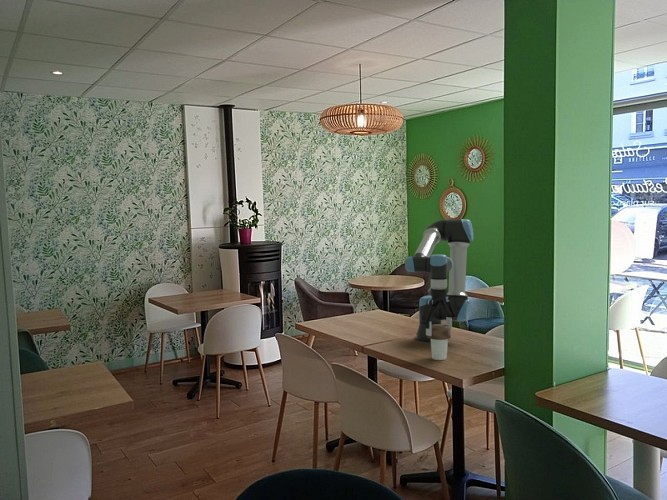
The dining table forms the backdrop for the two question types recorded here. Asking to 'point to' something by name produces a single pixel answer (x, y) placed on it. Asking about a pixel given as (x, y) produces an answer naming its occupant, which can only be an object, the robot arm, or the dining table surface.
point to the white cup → (439, 349)
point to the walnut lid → (440, 332)
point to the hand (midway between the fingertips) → (439, 333)
